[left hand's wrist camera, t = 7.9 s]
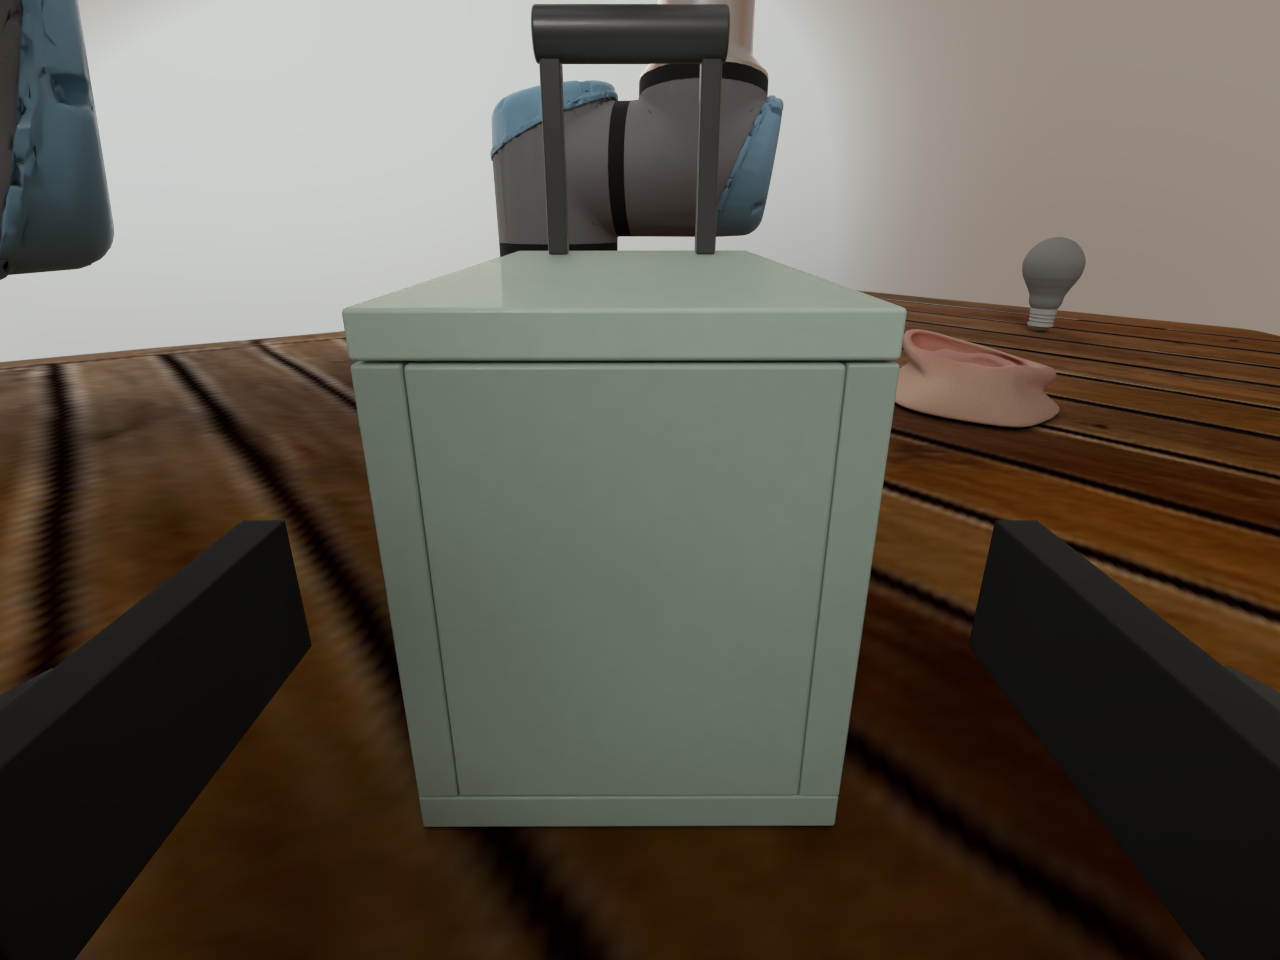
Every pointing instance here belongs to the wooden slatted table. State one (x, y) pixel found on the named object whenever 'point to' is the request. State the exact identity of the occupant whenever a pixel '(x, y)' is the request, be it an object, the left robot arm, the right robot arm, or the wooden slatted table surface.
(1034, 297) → the light bulb
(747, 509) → the chest
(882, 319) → the lid
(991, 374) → the anatomical model
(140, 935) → the wooden slatted table surface
